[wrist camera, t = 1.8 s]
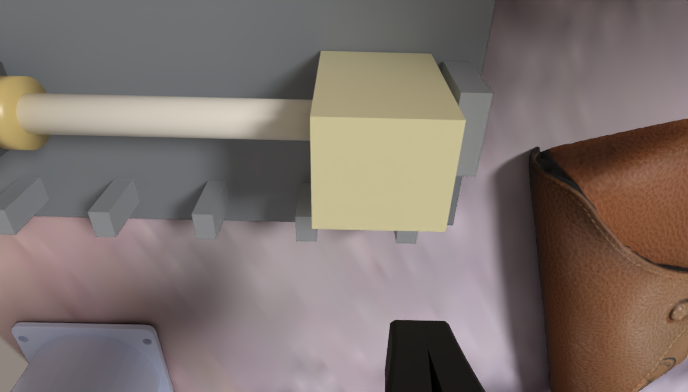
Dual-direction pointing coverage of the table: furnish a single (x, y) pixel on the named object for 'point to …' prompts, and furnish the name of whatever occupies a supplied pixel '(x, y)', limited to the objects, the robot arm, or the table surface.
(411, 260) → the table surface
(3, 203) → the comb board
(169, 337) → the table surface
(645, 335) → the sunglasses case
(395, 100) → the cream block on rod
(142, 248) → the table surface
